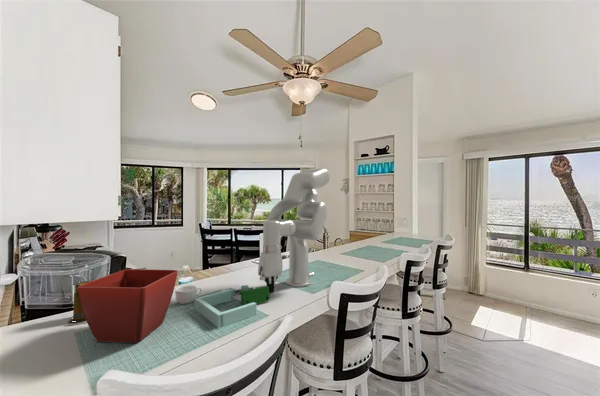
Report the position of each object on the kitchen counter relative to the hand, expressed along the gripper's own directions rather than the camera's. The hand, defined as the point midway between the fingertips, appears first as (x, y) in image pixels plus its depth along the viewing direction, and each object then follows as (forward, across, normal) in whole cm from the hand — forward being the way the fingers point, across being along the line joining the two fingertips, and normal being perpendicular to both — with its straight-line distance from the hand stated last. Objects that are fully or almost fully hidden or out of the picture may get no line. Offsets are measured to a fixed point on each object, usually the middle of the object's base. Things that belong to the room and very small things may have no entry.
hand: (270, 292), depth 110 cm
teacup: (+3, +27, -18) cm, 33 cm away
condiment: (+4, +59, -26) cm, 65 cm away
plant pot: (+3, +49, -5) cm, 50 cm away
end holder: (+2, +21, +1) cm, 21 cm away
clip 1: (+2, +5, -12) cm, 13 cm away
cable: (+2, +14, -11) cm, 18 cm away
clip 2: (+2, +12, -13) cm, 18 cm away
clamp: (+2, +8, 0) cm, 9 cm away
